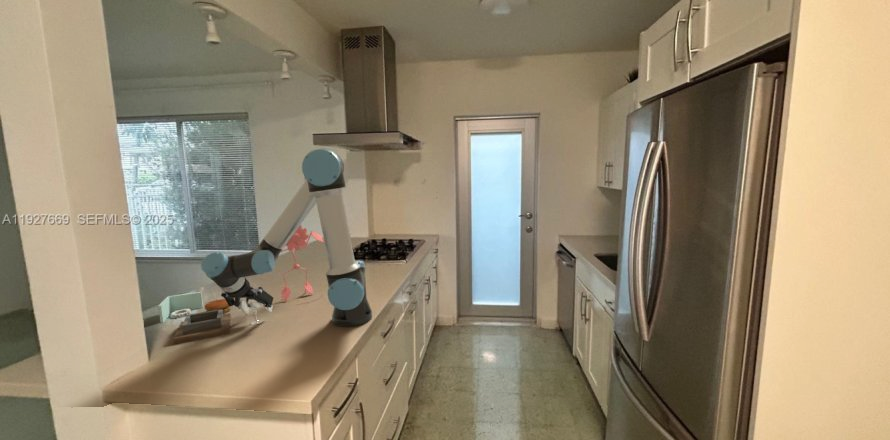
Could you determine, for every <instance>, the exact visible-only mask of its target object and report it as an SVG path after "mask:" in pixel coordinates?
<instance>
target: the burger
mask: <svg viewBox="0 0 890 440" xmlns="http://www.w3.org/2000/svg"><path fill="white" fill-rule="evenodd" d="M231 307H232V306H229V305H228V303H227V302H226V300H225V298H223V299H222V298H221V299H215V300H211V301H208V302H207V303H205V304H204V309H205V310H206V311H205V312H207V311H213V310H218V309H222V310H223V314H227V313H230V311H231V310H232V309H231Z"/></svg>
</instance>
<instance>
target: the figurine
mask: <svg viewBox="0 0 890 440" xmlns="http://www.w3.org/2000/svg"><path fill="white" fill-rule="evenodd" d="M307 229H308V228H306V227H304V228H303V225H302V224H301V225H300V226H299V228H298V229H297V230H296V232H295V233H294V234H293V236H292V237H291V238H290V240H289V241H288V243H287V244H286V245H285V247H286V246H287V248H286V249H282V251H281V252H280V253H283V252H286V251H287V250H288V252H292V258H293V259H294V262H295V264H294V265H293V268H292V269H290V270H288V271H286V272H284V273H283V274H282V276H283V280H284V282H283V283H284V287H283V288H282V290H281V298H282V300H283V301H284V302H287V301H288V300H289V298H290V296H291V289H290V287H289V286H287V284H286V277H285V274H287V273H289V272H291V271H293V270H295V271H298V270H300V269H303V270H305V278H306V279H305V281H306V282H304V284H303V286H304V294H306V293H309V294H310V295H313V294H314V290H313V287H312V284H310V283H309V282H308V271H307V270H308V269H307V268H305V267H304V268H303V267H301V266H300V264H298V263H297V260H296V257H295V251H300V250H301V248H306V247H307V246H308V244H309V240H310V238H311V237H313V238H314V239H315V240H317V242H320V243H325V242H324V238H323V236H321V235H320V234H319V232H316V231H314V230H313V231H312V230H310V233H307V232H308V231H307ZM321 298H322V296H320V297H318V298H317V300H320V299H321ZM315 301H316V299H315V300H312V301H310V302H307V304H309V303H312V302H315ZM304 304H306V302H305V303H303V305H304ZM298 305H301V303H299V304H297V306H298Z"/></svg>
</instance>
